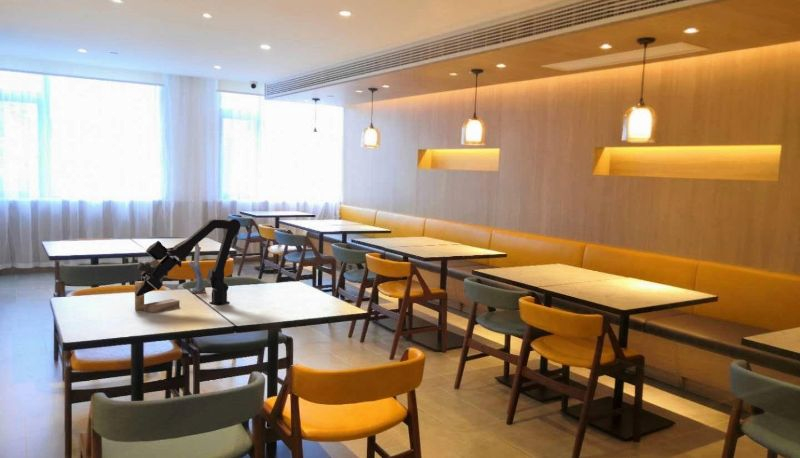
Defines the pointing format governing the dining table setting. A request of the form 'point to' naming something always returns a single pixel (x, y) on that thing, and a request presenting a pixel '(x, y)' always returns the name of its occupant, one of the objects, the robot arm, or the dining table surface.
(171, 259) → the robot arm
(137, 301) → the oak rod
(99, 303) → the dining table surface
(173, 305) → the block
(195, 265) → the antler
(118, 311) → the dining table surface
